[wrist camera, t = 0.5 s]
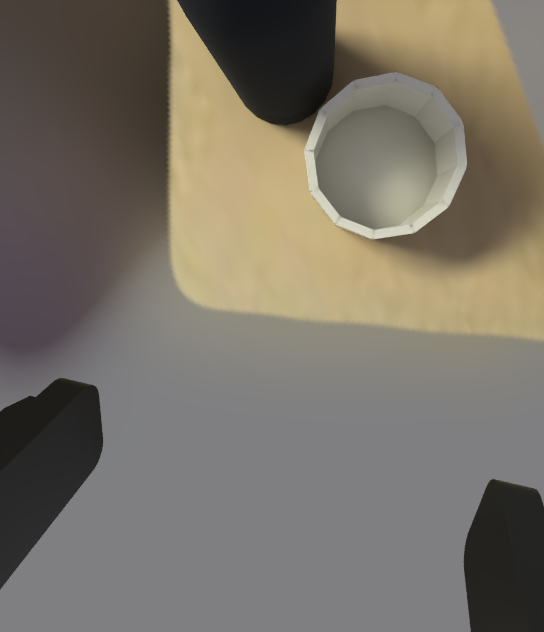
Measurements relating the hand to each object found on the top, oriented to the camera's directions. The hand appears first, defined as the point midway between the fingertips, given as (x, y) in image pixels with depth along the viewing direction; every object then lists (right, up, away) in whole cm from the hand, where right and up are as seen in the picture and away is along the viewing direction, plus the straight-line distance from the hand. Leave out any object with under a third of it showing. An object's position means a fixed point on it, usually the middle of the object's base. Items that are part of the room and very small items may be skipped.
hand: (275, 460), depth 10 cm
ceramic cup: (+7, +12, +23) cm, 27 cm away
